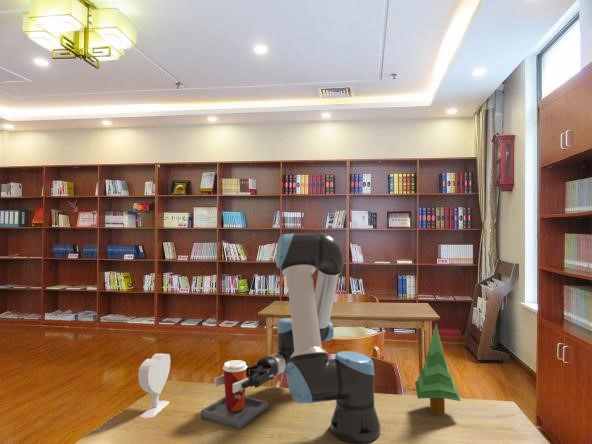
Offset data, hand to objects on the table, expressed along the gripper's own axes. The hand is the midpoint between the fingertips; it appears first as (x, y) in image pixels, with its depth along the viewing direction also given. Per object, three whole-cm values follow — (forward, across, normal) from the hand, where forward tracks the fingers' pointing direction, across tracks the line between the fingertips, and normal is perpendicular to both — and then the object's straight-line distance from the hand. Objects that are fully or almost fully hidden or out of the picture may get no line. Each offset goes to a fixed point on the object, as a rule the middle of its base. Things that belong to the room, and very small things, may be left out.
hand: (224, 385), depth 133 cm
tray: (-5, 0, -11) cm, 12 cm away
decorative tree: (-48, -53, -11) cm, 72 cm away
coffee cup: (-5, 0, -9) cm, 11 cm away
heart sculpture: (+10, +25, -11) cm, 29 cm away
